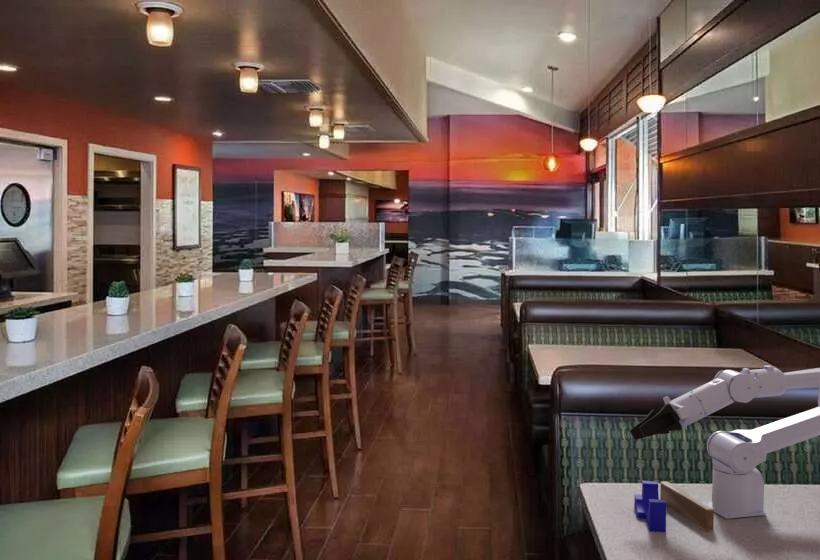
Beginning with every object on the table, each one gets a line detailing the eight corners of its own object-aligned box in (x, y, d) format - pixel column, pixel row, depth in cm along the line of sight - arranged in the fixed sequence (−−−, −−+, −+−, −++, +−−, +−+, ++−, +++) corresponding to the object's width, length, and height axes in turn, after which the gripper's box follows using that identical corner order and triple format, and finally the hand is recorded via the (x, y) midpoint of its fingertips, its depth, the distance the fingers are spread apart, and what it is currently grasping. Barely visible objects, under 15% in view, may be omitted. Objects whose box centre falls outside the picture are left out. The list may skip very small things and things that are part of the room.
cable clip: (634, 508, 151) (634, 480, 150) (656, 509, 150) (657, 481, 149) (641, 531, 139) (641, 501, 139) (665, 533, 138) (666, 502, 138)
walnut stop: (666, 500, 154) (667, 481, 154) (713, 530, 139) (714, 508, 138) (660, 501, 154) (660, 481, 154) (706, 531, 138) (706, 509, 138)
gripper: (674, 391, 154) (619, 419, 153) (697, 382, 140) (636, 412, 139) (692, 421, 152) (635, 449, 151) (716, 414, 139) (654, 445, 138)
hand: (637, 433), depth 145 cm, fingers open, 7 cm apart
